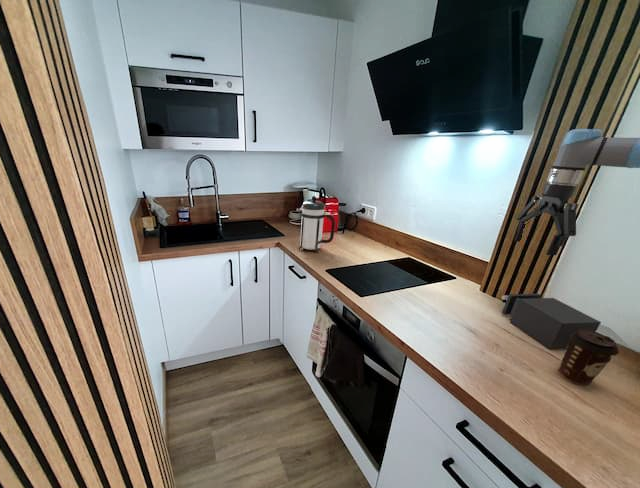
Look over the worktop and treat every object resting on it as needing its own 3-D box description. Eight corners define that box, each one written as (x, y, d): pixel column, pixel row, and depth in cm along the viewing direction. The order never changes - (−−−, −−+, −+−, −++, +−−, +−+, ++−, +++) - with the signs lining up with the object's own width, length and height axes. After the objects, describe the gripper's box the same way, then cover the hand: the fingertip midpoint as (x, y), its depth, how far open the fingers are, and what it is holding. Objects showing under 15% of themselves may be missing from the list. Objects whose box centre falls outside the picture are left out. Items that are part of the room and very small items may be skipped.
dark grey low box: (509, 322, 100) (519, 298, 96) (542, 321, 101) (553, 297, 97) (549, 349, 86) (562, 323, 83) (586, 348, 88) (601, 322, 84)
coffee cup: (600, 381, 75) (626, 341, 70) (592, 395, 71) (619, 353, 66) (557, 361, 82) (578, 323, 76) (548, 373, 77) (569, 333, 72)
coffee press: (305, 255, 155) (308, 199, 143) (293, 246, 169) (295, 194, 156) (332, 252, 161) (338, 198, 149) (319, 243, 174) (323, 193, 162)
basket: (492, 306, 108) (499, 288, 105) (519, 306, 109) (527, 288, 106) (534, 335, 91) (544, 315, 88) (566, 334, 93) (577, 314, 89)
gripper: (518, 178, 101) (497, 236, 109) (589, 189, 78) (555, 261, 87) (539, 179, 101) (516, 236, 110) (616, 190, 78) (579, 262, 87)
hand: (533, 247), depth 98 cm, fingers open, 13 cm apart
